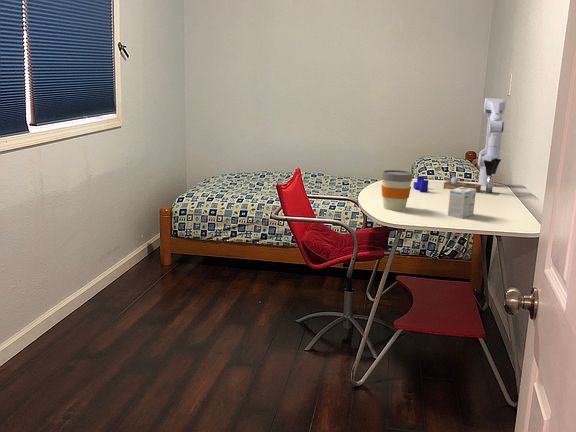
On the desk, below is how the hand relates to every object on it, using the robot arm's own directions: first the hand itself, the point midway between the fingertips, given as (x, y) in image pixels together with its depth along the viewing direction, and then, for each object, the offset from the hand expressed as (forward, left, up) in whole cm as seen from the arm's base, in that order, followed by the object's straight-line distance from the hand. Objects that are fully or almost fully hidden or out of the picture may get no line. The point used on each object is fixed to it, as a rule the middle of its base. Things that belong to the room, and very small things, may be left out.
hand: (490, 174), depth 311 cm
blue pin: (0, -17, -9) cm, 19 cm away
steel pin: (0, 0, -9) cm, 9 cm away
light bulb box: (+58, +3, -9) cm, 59 cm away
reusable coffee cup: (+64, -23, -9) cm, 69 cm away
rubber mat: (0, +1, -9) cm, 9 cm away
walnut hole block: (0, -13, -9) cm, 16 cm away
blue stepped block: (+16, -29, -10) cm, 34 cm away
